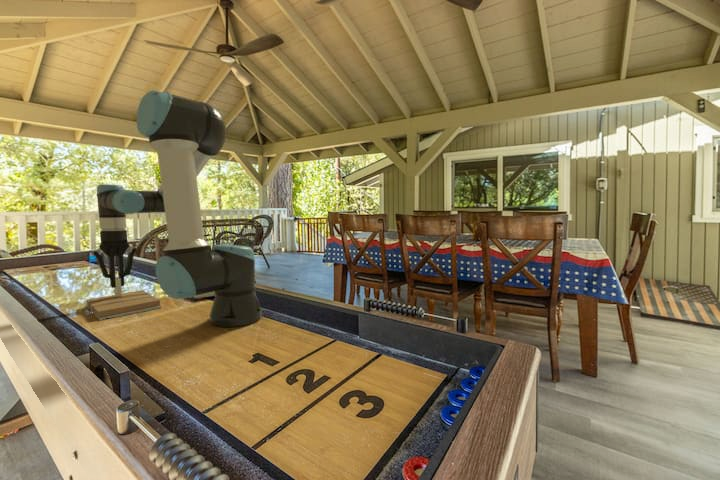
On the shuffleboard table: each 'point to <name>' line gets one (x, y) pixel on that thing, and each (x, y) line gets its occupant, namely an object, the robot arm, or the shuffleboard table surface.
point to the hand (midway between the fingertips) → (118, 295)
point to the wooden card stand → (126, 307)
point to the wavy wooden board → (116, 299)
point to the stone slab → (202, 296)
